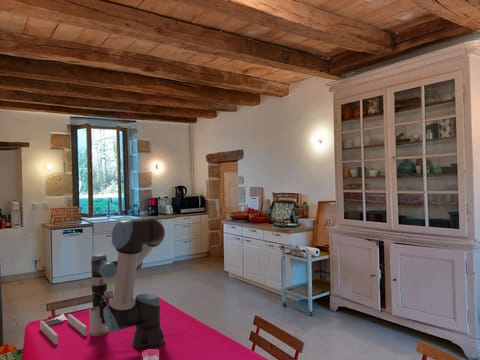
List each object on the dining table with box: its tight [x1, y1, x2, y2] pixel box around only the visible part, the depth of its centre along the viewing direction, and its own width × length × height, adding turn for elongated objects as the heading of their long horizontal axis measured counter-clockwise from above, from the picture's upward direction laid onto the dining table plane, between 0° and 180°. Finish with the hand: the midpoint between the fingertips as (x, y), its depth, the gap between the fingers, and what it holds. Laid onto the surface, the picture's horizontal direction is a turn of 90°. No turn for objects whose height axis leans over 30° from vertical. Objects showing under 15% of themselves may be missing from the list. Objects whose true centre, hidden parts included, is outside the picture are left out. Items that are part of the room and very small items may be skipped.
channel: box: [39, 313, 88, 345], centre depth 198 cm, size 26×15×4 cm, turn 42°
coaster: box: [88, 326, 112, 337], centre depth 198 cm, size 11×11×1 cm
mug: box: [88, 306, 103, 334], centre depth 198 cm, size 10×7×12 cm, turn 150°
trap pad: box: [44, 318, 64, 327], centre depth 212 cm, size 8×8×1 cm
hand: (100, 327), depth 198 cm, fingers closed on mug, 6 cm apart
